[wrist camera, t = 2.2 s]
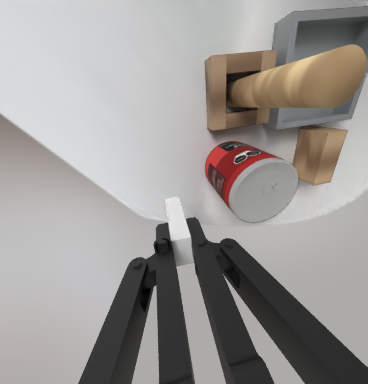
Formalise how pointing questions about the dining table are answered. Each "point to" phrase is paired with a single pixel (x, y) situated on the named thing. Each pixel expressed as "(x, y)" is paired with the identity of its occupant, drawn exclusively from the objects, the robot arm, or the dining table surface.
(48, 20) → the dining table surface
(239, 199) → the canned food
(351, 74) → the dowel
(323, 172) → the wooden block
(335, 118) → the tray
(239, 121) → the holder
